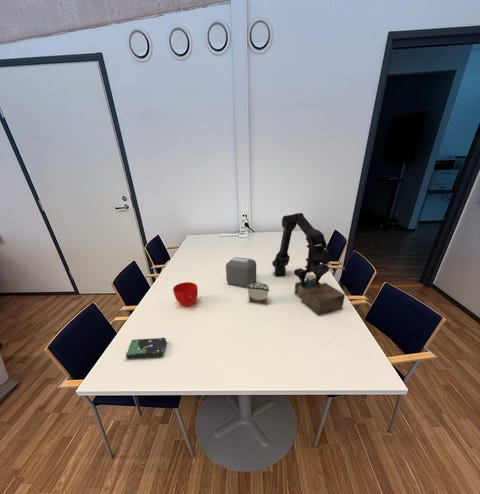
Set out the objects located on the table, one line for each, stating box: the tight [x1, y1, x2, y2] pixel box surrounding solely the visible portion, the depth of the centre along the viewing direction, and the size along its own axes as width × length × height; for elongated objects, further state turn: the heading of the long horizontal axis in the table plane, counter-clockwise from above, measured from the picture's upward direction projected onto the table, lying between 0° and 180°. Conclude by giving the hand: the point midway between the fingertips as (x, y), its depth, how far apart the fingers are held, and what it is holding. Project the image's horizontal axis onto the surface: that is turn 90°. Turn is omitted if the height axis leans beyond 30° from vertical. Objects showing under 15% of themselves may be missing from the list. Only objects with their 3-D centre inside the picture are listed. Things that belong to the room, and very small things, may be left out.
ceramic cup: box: [172, 281, 199, 307], centre depth 143 cm, size 13×17×10 cm
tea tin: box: [305, 274, 316, 288], centre depth 146 cm, size 5×5×10 cm
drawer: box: [293, 279, 322, 299], centre depth 147 cm, size 18×13×7 cm
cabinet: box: [301, 282, 346, 317], centre depth 139 cm, size 15×14×8 cm
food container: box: [246, 282, 270, 306], centre depth 145 cm, size 12×6×10 cm, turn 71°
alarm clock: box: [225, 256, 257, 288], centre depth 162 cm, size 16×11×16 cm
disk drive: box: [125, 337, 167, 360], centre depth 114 cm, size 10×3×15 cm
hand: (309, 284), depth 146 cm, fingers open, 9 cm apart
